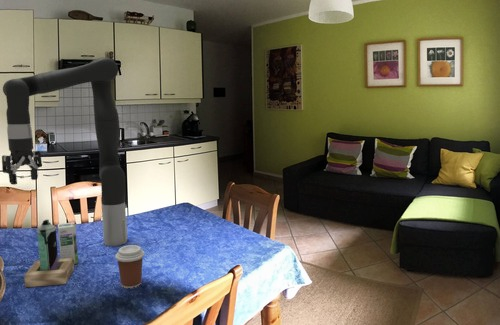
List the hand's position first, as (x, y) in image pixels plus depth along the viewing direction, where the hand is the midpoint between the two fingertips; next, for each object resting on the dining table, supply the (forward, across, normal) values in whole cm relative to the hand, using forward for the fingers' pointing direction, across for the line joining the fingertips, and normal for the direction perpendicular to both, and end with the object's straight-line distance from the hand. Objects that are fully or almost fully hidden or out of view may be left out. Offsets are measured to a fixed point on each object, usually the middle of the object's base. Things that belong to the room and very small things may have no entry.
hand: (24, 181), depth 141 cm
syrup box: (+30, +3, -14) cm, 34 cm away
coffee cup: (+30, -4, -46) cm, 55 cm away
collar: (+30, -8, -18) cm, 36 cm away
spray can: (+30, -8, -17) cm, 36 cm away
